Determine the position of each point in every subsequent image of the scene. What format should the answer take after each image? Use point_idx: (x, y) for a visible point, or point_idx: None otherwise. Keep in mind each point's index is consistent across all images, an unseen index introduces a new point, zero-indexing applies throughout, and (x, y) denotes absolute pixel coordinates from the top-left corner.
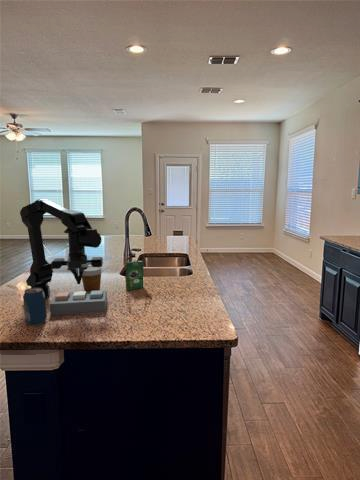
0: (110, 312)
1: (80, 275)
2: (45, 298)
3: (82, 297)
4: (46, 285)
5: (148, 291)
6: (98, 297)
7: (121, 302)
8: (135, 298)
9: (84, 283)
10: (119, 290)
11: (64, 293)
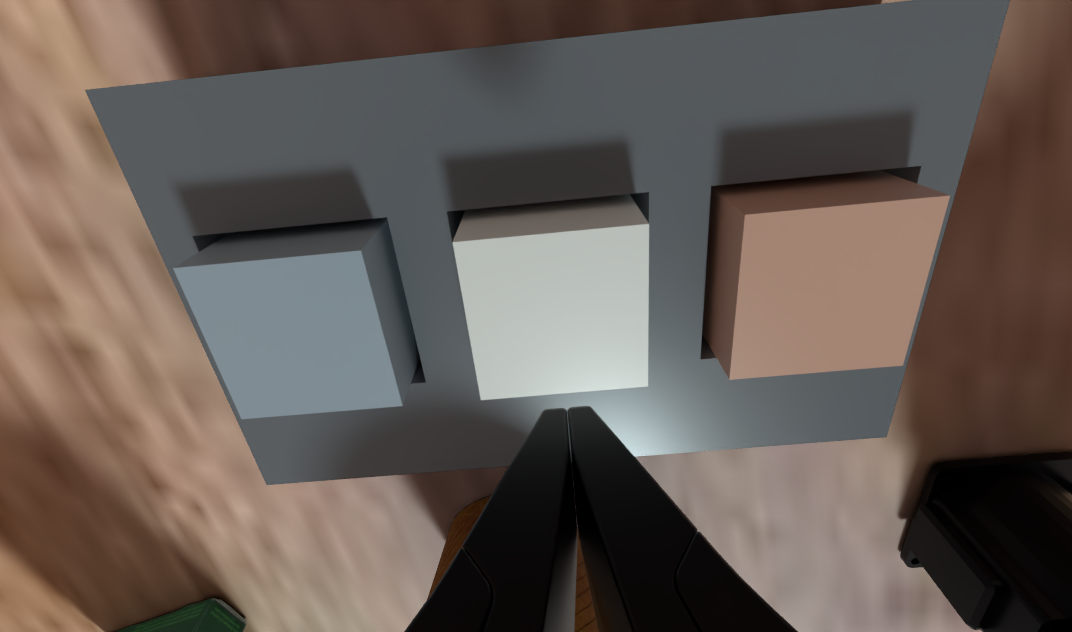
0: (121, 57)
1: (489, 578)
2: (945, 466)
3: (493, 226)
4: (1019, 614)
5: (15, 571)
6: (256, 244)
7: (141, 351)
8: (46, 437)
9: (577, 629)
10: (296, 599)
11: (798, 328)
